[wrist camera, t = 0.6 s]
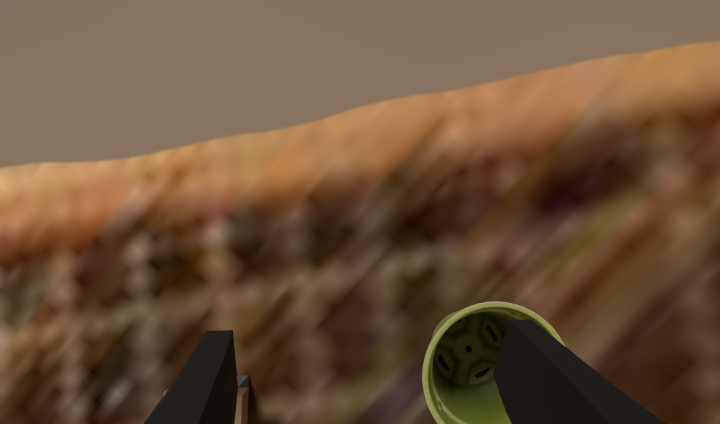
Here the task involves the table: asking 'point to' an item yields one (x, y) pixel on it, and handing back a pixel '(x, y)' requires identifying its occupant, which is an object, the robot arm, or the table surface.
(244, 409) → the walnut board
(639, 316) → the table surface
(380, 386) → the table surface
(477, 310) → the plant pot
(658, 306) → the table surface
